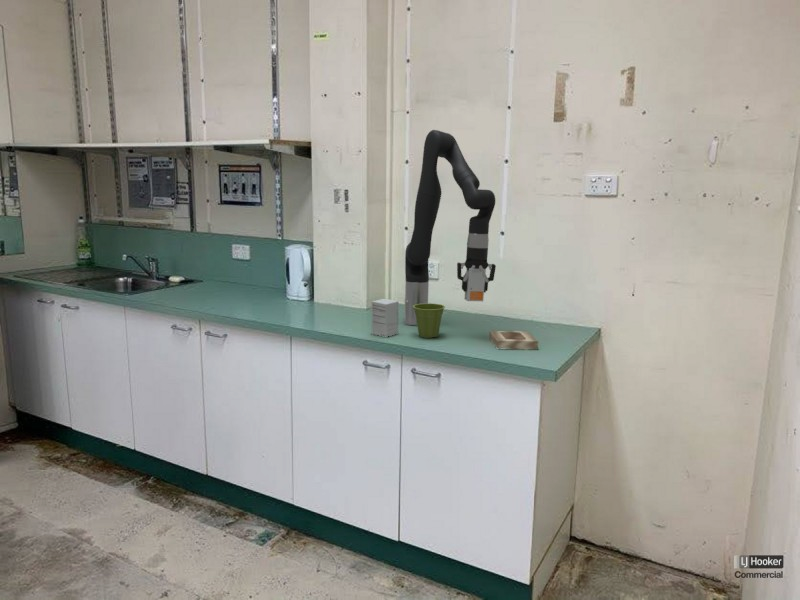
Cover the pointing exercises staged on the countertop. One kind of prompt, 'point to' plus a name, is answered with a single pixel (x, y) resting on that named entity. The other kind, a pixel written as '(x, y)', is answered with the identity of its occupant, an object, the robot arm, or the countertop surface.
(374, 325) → the supplement box
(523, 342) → the birch plinth
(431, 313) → the plant pot
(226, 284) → the countertop surface
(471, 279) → the skincare box
